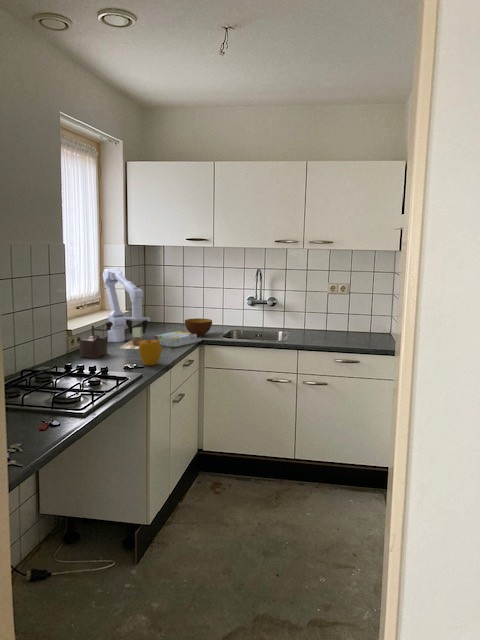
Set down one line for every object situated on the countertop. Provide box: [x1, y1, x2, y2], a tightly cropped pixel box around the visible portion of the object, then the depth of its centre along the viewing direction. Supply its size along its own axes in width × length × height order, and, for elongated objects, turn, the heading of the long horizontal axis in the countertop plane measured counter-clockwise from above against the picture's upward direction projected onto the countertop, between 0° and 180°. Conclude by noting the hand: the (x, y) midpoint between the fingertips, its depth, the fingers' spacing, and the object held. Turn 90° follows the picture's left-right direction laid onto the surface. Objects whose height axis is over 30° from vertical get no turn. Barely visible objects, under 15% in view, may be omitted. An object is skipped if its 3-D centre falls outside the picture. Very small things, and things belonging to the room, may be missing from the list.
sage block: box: [132, 326, 143, 338], centre depth 310 cm, size 4×4×5 cm
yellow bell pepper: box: [138, 338, 163, 367], centre depth 267 cm, size 11×11×13 cm
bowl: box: [184, 318, 213, 338], centre depth 345 cm, size 18×18×10 cm
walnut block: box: [132, 335, 144, 346], centre depth 311 cm, size 4×4×5 cm
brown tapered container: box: [79, 320, 113, 360], centre depth 286 cm, size 16×11×18 cm
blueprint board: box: [119, 339, 139, 350], centre depth 313 cm, size 17×24×1 cm
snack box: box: [154, 330, 198, 348], centre depth 319 cm, size 21×6×15 cm
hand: (137, 333), depth 310 cm, fingers open, 7 cm apart
